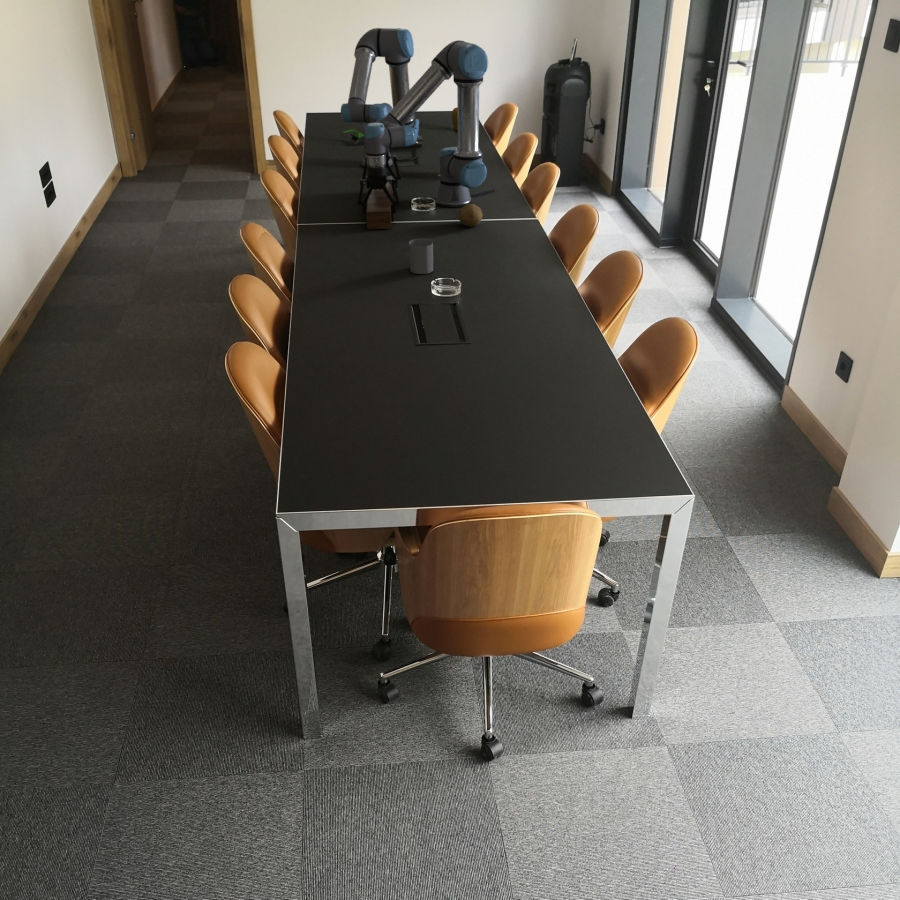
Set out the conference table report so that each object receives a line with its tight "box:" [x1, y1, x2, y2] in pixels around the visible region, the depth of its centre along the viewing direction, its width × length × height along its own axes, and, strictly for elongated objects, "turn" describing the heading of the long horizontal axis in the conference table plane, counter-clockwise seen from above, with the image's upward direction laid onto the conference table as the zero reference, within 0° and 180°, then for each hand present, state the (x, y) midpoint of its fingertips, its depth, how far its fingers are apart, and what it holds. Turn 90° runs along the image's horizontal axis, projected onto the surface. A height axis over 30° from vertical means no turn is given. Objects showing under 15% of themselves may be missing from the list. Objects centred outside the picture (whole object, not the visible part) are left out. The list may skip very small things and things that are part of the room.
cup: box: [408, 237, 434, 275], centre depth 305 cm, size 8×8×10 cm
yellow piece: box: [451, 107, 458, 132], centre depth 487 cm, size 11×11×13 cm
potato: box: [458, 203, 484, 228], centre depth 347 cm, size 10×14×8 cm
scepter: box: [341, 128, 364, 146], centre depth 466 cm, size 6×13×30 cm
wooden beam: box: [365, 175, 394, 230], centre depth 365 cm, size 51×10×7 cm, turn 2°
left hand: (382, 195), depth 381 cm, fingers closed on wooden beam, 10 cm apart
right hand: (379, 221), depth 352 cm, fingers closed on wooden beam, 10 cm apart
